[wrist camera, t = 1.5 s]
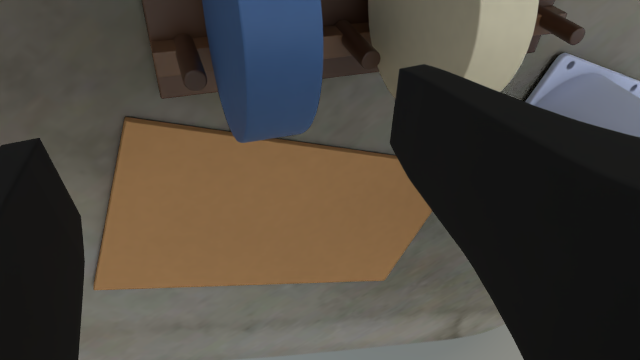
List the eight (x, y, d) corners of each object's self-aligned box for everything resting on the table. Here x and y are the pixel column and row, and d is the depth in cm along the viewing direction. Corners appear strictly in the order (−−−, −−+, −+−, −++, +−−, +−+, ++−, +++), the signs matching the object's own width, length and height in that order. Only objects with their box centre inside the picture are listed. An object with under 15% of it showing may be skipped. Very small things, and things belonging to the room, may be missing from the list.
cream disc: (433, -131, 16) (580, -85, 11) (398, 54, 21) (492, 144, 16) (383, -132, 15) (514, -84, 11) (358, 59, 20) (442, 153, 15)
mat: (458, 164, 29) (462, 168, 29) (382, 276, 35) (384, 280, 35) (124, 116, 19) (125, 121, 19) (93, 284, 25) (93, 290, 25)
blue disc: (252, -135, 14) (335, -81, 9) (259, 70, 19) (316, 178, 14) (186, -137, 13) (238, -79, 9) (210, 76, 18) (251, 190, 13)
